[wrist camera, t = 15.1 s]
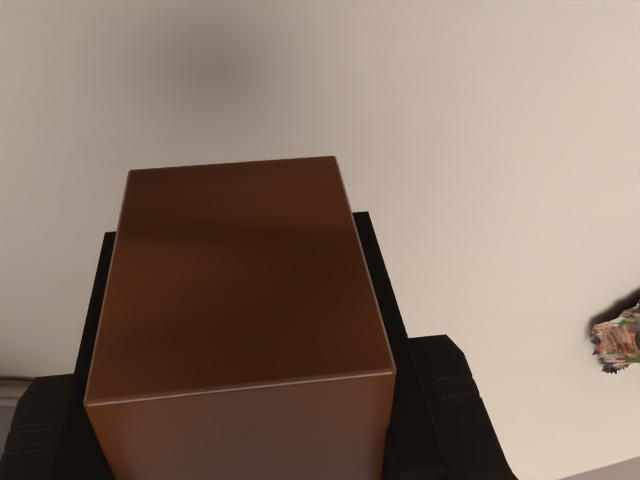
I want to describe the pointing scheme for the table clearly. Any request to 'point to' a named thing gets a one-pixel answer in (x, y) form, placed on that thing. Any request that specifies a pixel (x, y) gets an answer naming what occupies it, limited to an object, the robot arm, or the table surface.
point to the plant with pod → (619, 340)
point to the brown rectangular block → (240, 329)
